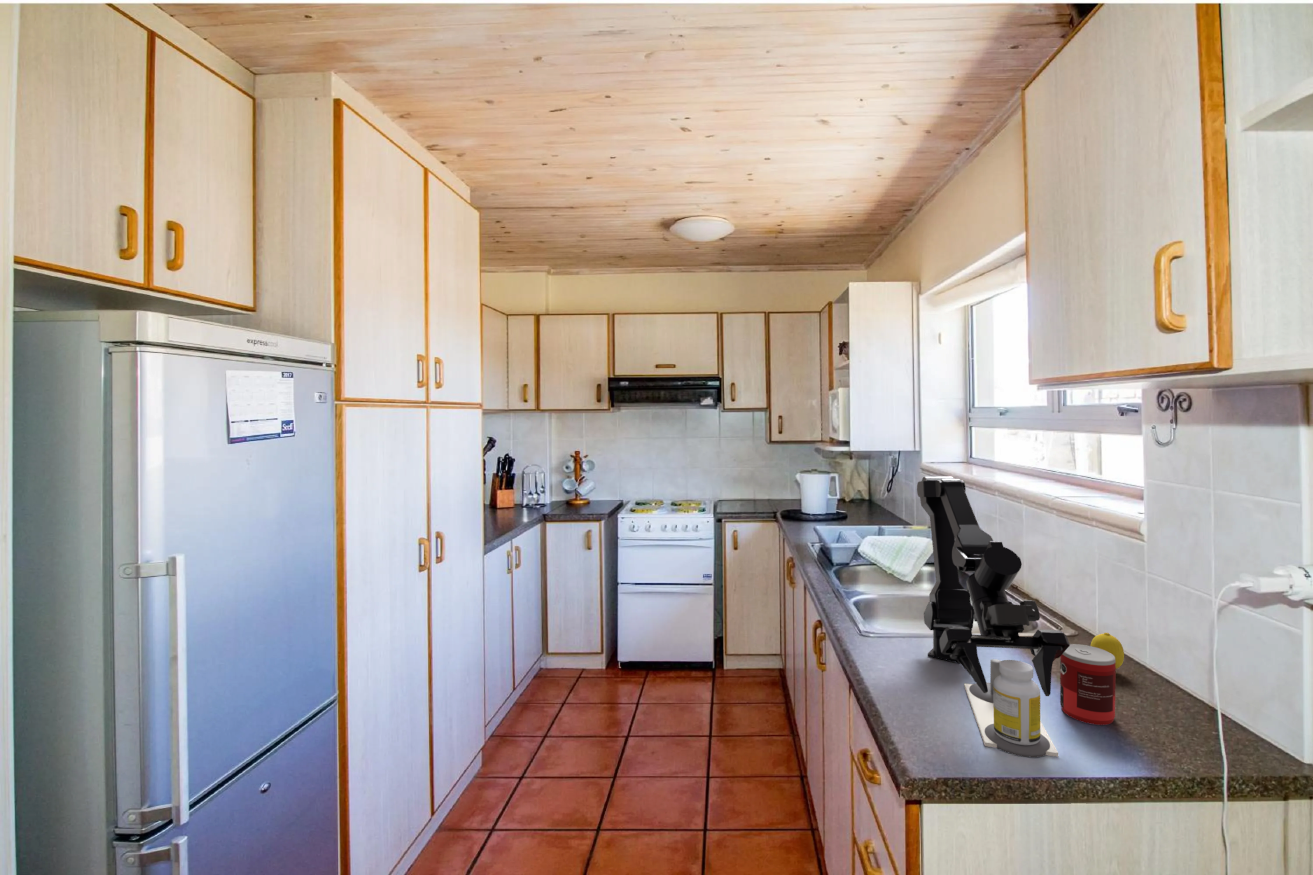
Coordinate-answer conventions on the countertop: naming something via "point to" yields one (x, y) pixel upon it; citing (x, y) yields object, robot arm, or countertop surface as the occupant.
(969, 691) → the board
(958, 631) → the robot arm
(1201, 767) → the countertop surface
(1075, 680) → the canned food
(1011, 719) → the pill bottle
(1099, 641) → the lemon
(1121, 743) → the countertop surface
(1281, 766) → the countertop surface
